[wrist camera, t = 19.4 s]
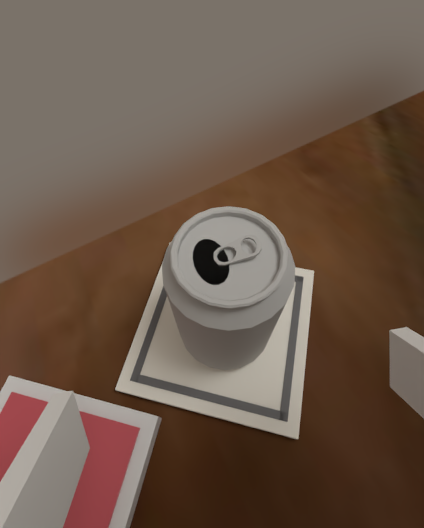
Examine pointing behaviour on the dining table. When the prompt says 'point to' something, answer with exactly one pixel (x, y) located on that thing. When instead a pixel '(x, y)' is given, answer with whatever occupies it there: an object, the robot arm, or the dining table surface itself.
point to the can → (227, 284)
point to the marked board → (224, 381)
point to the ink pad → (99, 456)
